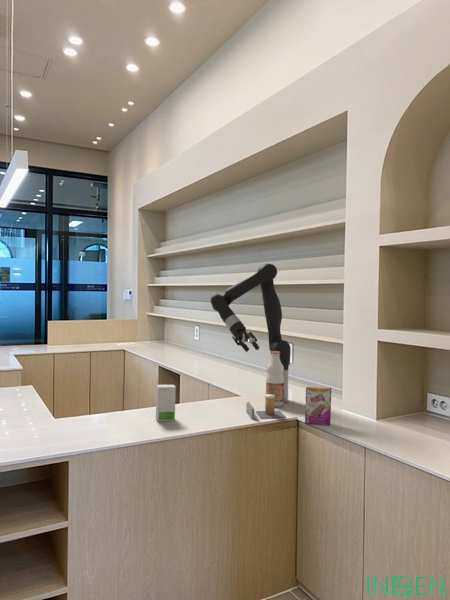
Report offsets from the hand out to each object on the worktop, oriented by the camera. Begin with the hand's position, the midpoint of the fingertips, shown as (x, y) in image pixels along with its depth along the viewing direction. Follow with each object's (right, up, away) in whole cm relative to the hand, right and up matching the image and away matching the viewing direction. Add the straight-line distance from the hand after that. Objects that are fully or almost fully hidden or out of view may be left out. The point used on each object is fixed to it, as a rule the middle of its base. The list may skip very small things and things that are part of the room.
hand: (253, 349), depth 220 cm
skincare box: (-41, -30, -17) cm, 54 cm away
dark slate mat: (+8, -30, -7) cm, 32 cm away
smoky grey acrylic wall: (-2, -30, -9) cm, 32 cm away
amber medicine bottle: (+8, -30, -7) cm, 32 cm away
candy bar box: (+28, -31, -20) cm, 46 cm away
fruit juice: (+12, -31, +13) cm, 35 cm away
